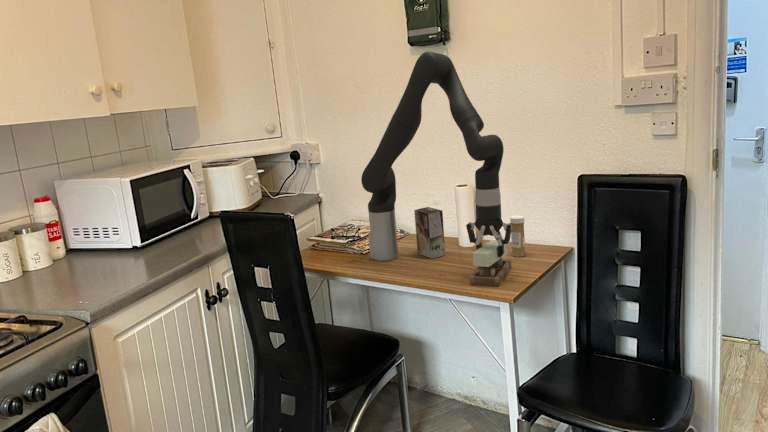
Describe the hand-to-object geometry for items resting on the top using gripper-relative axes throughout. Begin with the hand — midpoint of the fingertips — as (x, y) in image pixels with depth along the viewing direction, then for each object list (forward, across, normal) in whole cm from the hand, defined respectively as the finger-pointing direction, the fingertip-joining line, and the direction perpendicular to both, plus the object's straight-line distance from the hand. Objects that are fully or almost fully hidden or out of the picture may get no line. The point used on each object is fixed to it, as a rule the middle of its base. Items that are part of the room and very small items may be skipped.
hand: (490, 255), depth 190 cm
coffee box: (+7, +26, -19) cm, 33 cm away
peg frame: (+6, 0, 0) cm, 6 cm away
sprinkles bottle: (+7, -4, -22) cm, 23 cm away
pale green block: (+1, 0, 0) cm, 1 cm away
